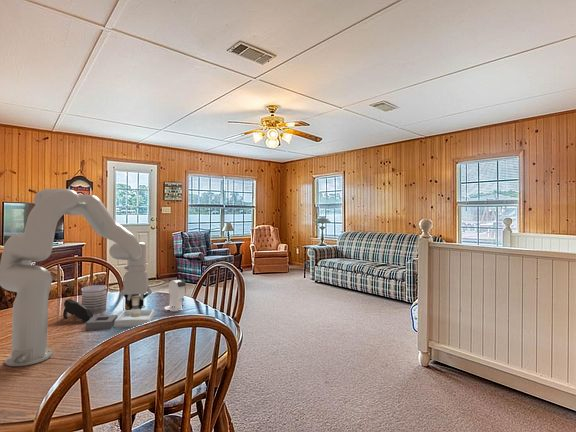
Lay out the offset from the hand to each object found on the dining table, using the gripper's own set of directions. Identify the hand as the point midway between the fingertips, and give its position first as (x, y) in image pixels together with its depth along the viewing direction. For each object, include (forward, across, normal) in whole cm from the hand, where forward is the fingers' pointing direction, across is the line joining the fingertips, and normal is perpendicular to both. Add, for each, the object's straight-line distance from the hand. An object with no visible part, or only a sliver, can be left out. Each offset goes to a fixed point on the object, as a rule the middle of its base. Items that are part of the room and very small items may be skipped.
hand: (135, 307), depth 156 cm
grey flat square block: (+6, -13, -4) cm, 15 cm away
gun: (+7, -26, +6) cm, 27 cm away
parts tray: (+6, 0, 0) cm, 6 cm away
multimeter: (+6, -3, +20) cm, 21 cm away
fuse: (+4, 0, 0) cm, 4 cm away
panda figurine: (+6, +16, +20) cm, 26 cm away
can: (+6, -24, +21) cm, 33 cm away
